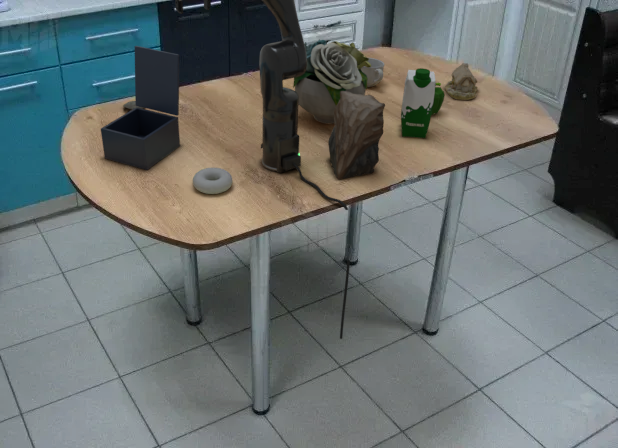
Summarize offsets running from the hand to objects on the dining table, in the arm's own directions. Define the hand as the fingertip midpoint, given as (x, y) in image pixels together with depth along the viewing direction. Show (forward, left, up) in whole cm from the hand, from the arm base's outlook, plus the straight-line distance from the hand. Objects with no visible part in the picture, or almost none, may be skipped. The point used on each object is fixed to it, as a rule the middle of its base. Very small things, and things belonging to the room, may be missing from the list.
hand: (193, 11), depth 194 cm
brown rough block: (-57, -14, -30) cm, 66 cm away
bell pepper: (-42, -59, -30) cm, 78 cm away
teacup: (-15, -57, -30) cm, 66 cm away
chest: (-20, +28, -29) cm, 45 cm away
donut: (-46, +21, -30) cm, 59 cm away
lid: (-16, +20, -12) cm, 28 cm away
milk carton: (-50, -45, -30) cm, 74 cm away
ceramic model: (-36, -81, -30) cm, 94 cm away
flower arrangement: (-29, -29, -30) cm, 51 cm away
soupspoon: (0, +20, -30) cm, 36 cm away
